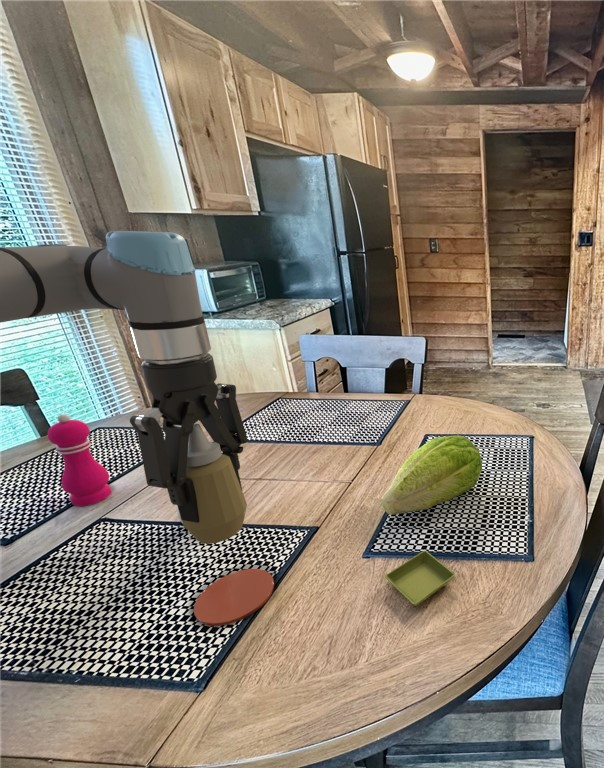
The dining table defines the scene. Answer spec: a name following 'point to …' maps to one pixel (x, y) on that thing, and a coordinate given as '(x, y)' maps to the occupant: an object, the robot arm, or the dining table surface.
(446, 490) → the lettuce
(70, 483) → the pepper mill
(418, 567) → the green square tray
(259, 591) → the coaster
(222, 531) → the squeeze bottle
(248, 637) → the dining table surface
